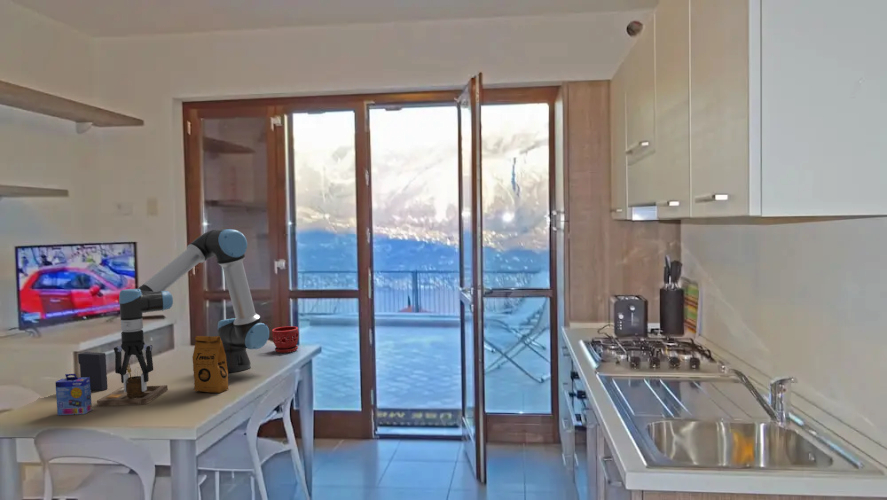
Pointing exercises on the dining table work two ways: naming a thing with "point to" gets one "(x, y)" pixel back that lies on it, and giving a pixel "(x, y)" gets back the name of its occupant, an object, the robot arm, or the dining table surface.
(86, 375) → the black boxy piece
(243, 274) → the robot arm
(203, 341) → the coffee package
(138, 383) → the utensil holder
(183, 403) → the dining table surface
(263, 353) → the dining table surface
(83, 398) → the ink cartridge box
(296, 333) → the plant pot
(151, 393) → the socket board
